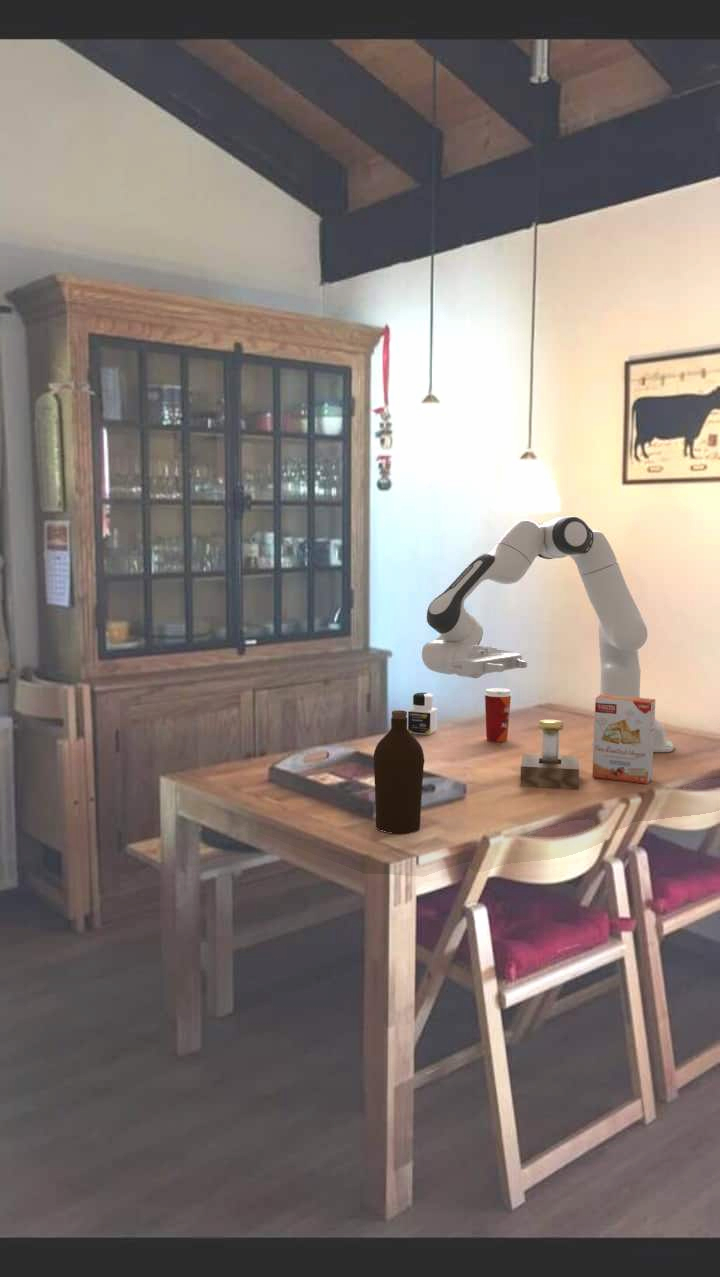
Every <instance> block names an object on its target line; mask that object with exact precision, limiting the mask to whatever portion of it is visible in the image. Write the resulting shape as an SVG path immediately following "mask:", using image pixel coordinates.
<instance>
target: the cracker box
mask: <svg viewBox="0 0 720 1277" xmlns="http://www.w3.org/2000/svg"><path fill="white" fill-rule="evenodd" d="M594 705H595V706H594V707H595V708H594V724H593V726H594V729H593V731H594V732H593V741H594V744H593V751H592V754H593V755H592V775H591V776H592V778H594V779H595V778H597V779H605V780H614V781H620V782H627V783H637V784H642V785H643V784H644V785H648V784H649V782H651V780H652V778H653V762H654V752H653V745H654V722H655V719H656V718H655V717H656V699H655V698H643V697H640V698H635V697H624V696H614V695H602V694H601V695H600V694H599V695H598V696H596V697H595V703H594Z"/></svg>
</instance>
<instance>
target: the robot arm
mask: <svg viewBox="0 0 720 1277" xmlns="http://www.w3.org/2000/svg"><path fill="white" fill-rule="evenodd" d="M567 556H569V557H570V558H571V559H572V560H573V562H574V563H575V564H576V567H577V570H578V573H579V577H580V578H581V581H582V583H583V584H582V585H583V586H584V588H585V591H586V593H587V598H588V599H589V602H590V603H591V605H592V607H593V609H594V611H595V613H596V615H597V618H598V620H599V622H598V641H599V642H598V648H599V658H600V694H599V695H601V694H602V695H614V696H624V697H635V698H641V697H640V694H641V693H640V692H641V668H640V667H641V666H640V661H639V651H638V650H639V649H641V648H642V647H643V646H644V645H645V644H646V642H647V640H648V628H647V626H646V624H645V622H644V619H643V617H642V615H641V612H640V611H639V608H638V606H637V605H636V602H635V600H634V598H633V596H632V594H631V592H630V590H629V589H628V586H627V584H626V581H625V578H624V576H623V575H624V574H623V573H622V569H621V567H620V565H619V562H618V559H617V557H616V554H615V552H614V550H613V549H612V547H611V544H610V543H609V541H608V539H607V537H606V535H605V534H604V533H603V532H602V531H599V530H597V529H591V528H590V526H588V525H587V523H586V522H585V521H584V520H583V519H582V518H580V517H578V516H573V515H567V516H566V515H565V516H562V517H556V518H553V519H550V520H548V521H546V522H542V523H540V524H538V523H537V522H535V521H533V520H530V519H527V518H524V519H519V520H517V521H516V522H515V523H514V524H513V525H511V526H510V528H509V529H508V530H507V531H506V532H505V533H504V535H503V536H502V537H501V538H500V540H499V541H498V542H497V544H496V545H495V547H493V549H491V551H489V552H488V553H482V554H480V555H478V556H477V557H476V558H474V559H473V560H472V561H471V562H470V564H468V565H467V566H466V568H464V570H463V571H461V573H460V574H459V575H458V576H457V577H456V579H454V581H453V582H452V583H451V584H450V585H449V586H447V588H446V589H445V590H444V591H443V592H441V594H439V595H438V596H437V597H435V598H434V599H433V600H432V601H431V602H430V604H429V606H428V607H427V611H426V622H427V624H428V625H429V626H430V627H431V628H432V629H433V630H435V632H438V633H439V636H438V637H437V638H435V639H433V640H432V641H431V640H430V641H429V642H426V643H425V644H424V645H423V647H422V650H421V658H422V662H423V664H424V666H425V667H426V668H427V669H429V671H433V672H435V673H439V674H444V675H449V676H450V675H457V676H459V677H464V678H471V679H479V678H481V677H482V676H484V675H486V674H490V673H496V672H497V673H502V672H504V671H507V670H508V671H509V670H514V669H515V670H516V669H526V668H527V667H528V662H527V661H526V660H523V657H522V654H520V653H518V652H514V651H509V650H505V649H498V648H497V647H496V646H483V645H480V643H481V641H482V640H483V635H484V630H483V626H482V625H481V624H480V622H479V621H477V619H476V618H475V617H474V616H473V615H472V614H471V613H470V612H469V611H468V610H467V609H466V607H464V606H465V605H464V604H465V601H466V600H467V598H468V597H469V596H470V595H471V594H472V593H473V591H474V590H476V589H477V587H478V586H479V585H480V584H481V583H482V582H484V581H486V580H489V581H493V582H495V583H498V584H503V585H512V584H515V583H518V582H519V581H520V580H521V579H522V578H523V577H524V576H525V575H526V573H527V572H528V571H529V570H530V567H531V566H532V564H533V563H534V561H535V559H536V558H537V557H538V558H541V559H545V560H552V559H563V558H566V557H567ZM666 737H667V736H666V731H665V727H664V725H663V724H662V723H661V722H660V721H658V720H657V719H656V718H655V722H654V745H653V753H670V752H673V751H674V744H673V742H672V741H670V740H668V739H667V738H666ZM592 744H593V745H594V740H593V742H592Z"/></svg>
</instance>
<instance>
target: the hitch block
mask: <svg viewBox="0 0 720 1277" xmlns="http://www.w3.org/2000/svg"><path fill="white" fill-rule="evenodd" d="M519 777H520V778H519V779H520V780H519V781H520V783H519V784H520V785H519V786H520V787H523V788H525V787H526V788H529V787H530V788H544V789H545V788H546V789H561V790H563V789H564V790H565V789H566V790H579V785H580V784H579V782H580V763H579V756H577V755H575V756H574V755H559V754H558V764H543V763H542V754H540V753H539V754H535V753H534V754H533V753H522V758H521V763H520V776H519Z"/></svg>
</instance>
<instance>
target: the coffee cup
mask: <svg viewBox="0 0 720 1277" xmlns="http://www.w3.org/2000/svg"><path fill="white" fill-rule="evenodd" d="M512 694H513V693H511V689H510V688H509V689H508V688H504V687H488V688H486V689H485V692H484V693H483V695H484V705H485V706H484V708H485V730H486V731H485V733H486V735H485V736H486V741H489V742H494V743H495V742H496V743H502V742H507V740H508V732H509V723H510V722H509V721H510V712H511V711H510V710H511V709H510V708H511V698H512V696H513V695H512Z"/></svg>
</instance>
